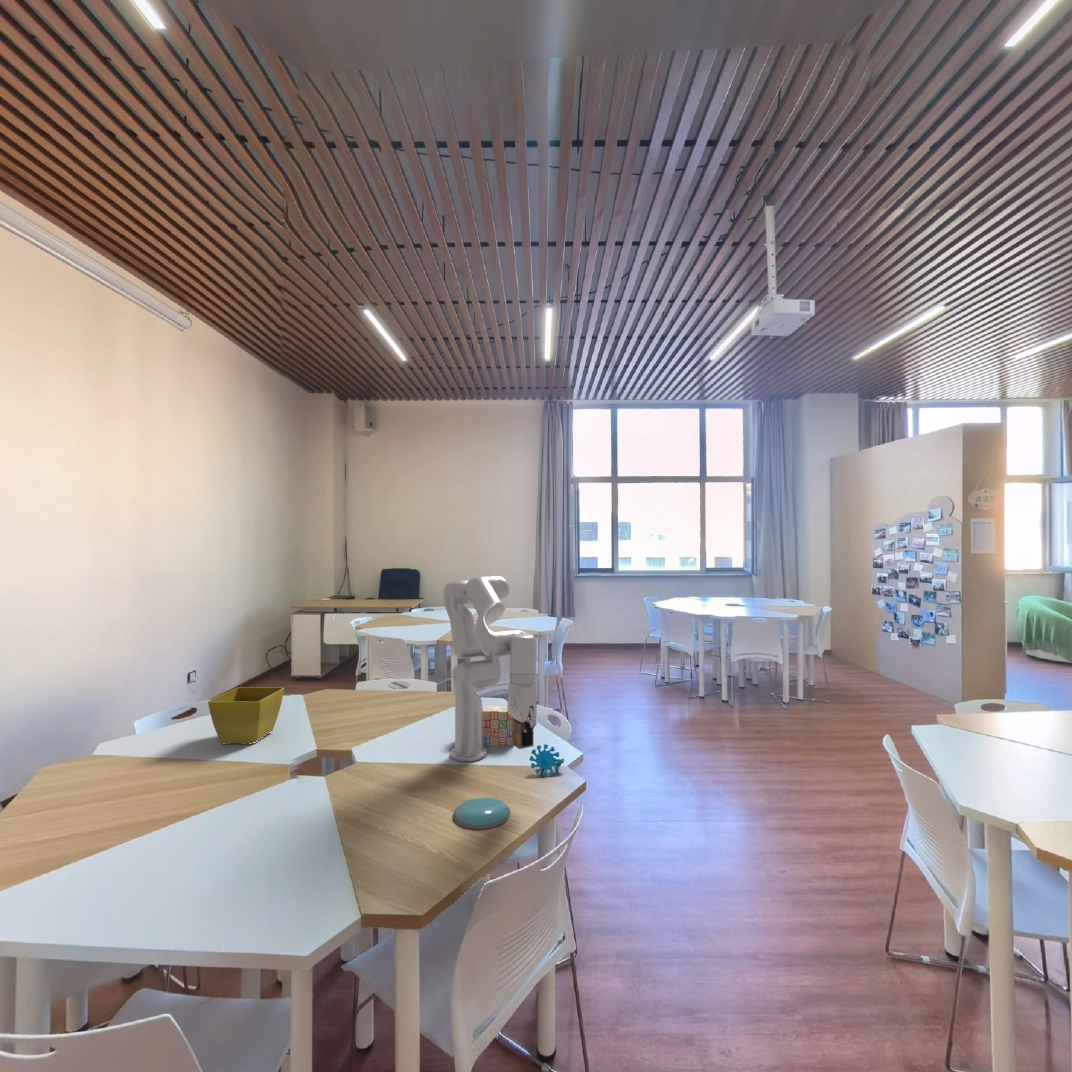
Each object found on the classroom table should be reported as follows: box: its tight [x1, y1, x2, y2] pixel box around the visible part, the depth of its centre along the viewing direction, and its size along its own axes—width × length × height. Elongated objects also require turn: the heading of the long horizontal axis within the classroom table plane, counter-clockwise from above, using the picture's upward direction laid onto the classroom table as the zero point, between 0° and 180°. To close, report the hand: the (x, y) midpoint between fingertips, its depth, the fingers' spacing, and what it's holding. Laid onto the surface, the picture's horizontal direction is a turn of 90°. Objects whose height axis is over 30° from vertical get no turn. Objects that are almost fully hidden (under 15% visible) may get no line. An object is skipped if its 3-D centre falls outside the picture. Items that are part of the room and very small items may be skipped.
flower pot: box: [207, 686, 285, 744], centre depth 197 cm, size 19×19×17 cm
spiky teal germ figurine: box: [529, 743, 565, 777], centre depth 167 cm, size 11×6×10 cm
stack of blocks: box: [483, 705, 515, 747], centre depth 192 cm, size 21×6×12 cm, turn 86°
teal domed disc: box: [453, 797, 511, 831], centre depth 139 cm, size 15×15×1 cm
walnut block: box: [512, 718, 534, 750], centre depth 149 cm, size 4×4×7 cm
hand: (522, 741), depth 149 cm, fingers closed on walnut block, 4 cm apart
